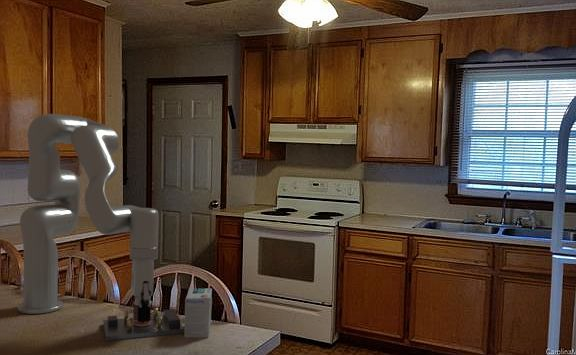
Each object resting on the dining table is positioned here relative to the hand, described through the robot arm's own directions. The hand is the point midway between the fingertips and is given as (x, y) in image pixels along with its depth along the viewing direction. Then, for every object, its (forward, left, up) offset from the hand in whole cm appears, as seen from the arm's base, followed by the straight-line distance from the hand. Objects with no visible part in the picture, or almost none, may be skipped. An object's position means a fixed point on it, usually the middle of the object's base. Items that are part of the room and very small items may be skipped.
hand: (142, 317), depth 147 cm
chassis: (0, 0, -3) cm, 3 cm away
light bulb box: (+7, +14, -3) cm, 16 cm away
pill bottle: (0, 0, -2) cm, 2 cm away
